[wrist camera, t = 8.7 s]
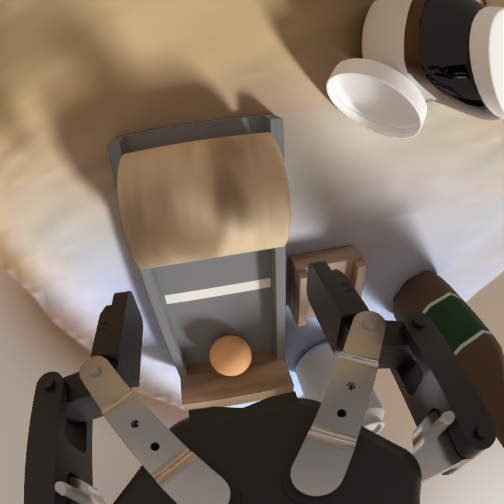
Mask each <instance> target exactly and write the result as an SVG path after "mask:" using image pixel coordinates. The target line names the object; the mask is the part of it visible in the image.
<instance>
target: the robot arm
mask: <svg viewBox="0 0 504 504" xmlns="http://www.w3.org/2000/svg"><path fill="white" fill-rule="evenodd" d="M485 2H486V6H487V7H504V0H485ZM306 291H307V297H308V301H309V303H310V305H311V307H312V309H313V311H314V313H315V315H316V318H317V320H318V322H319V324H320V326H321V328H322V330H323V332H324V334H325V336H326V338H327V341H328V343H329V345H330V347H331V349H332V351H333V353H334V354H336V353H340V352H342V354H340V357H339V359H338V362H337V365H336V367H335V370H334V373H333V375H332V378H331V381H330V383H329V386H328V388H327V391H326V393H325V396H324V398H323V401H322V403H321V402H319V401H316V400H312V399H306V398H297V396H296V393H295V391H294V392H289V393H285V394H280V395H276V396H271V397H268V398H266V399H263V400H261V401H259V402H257V403H254V404H252V405H250V406H247V407H244V408H231V407H216V406H214V407H207V408H199V409H191V410H189V417H188V418H185V419H183V420H181V421H179V422H178V423H176V424H175V425H173V426H172V427H171V428H170V429H168V428H167V427H166V426H165V425H164V424H163V423H162V422H161V421H160V420H159V419H158V418H157V417H156V416H155V415H154V413H153V412H152V411H151V410H150V409H149V408H148V407H147V406H146V405H145V403H144V402H143V401H142V400H141V399H140V398H139V397H138V395H137V394H136V393H135V392H134V391H133V390H131V387H139V380H140V362H141V348H142V335H143V321H142V317H141V314H140V312H139V309H138V307H137V304H136V302H135V299H134V296H133V294H132V292H131V291H127V292H120V293H115V294H114V297H113V301H112V305H108V306H106V307H105V308H104V310H103V311H102V312H101V314H100V317H99V321H98V325H97V332H96V334H95V339H94V343H93V348H92V353H91V358H89V359H87V360H86V361H85V362H84V363H83V364H82V365H81V367H80V370H79V372H77V373H75V374H72V375H69V376H67V377H64V378H63V377H62V376H61V375H60V374H59V373H57V372H48V373H46V374H44V375H43V376H42V377H41V378H40V379H39V381H38V382H37V385H36V390H35V395H34V401H33V407H32V413H31V419H30V426H29V434H28V443H27V452H26V464H25V483H24V504H105V502H104V498H103V495H102V494H101V492H100V491H99V490H98V489H97V488H95V487H93V481H92V480H93V479H92V423H93V422H92V421H93V419H96V418H98V417H101V416H104V417H105V418H106V419H107V421H108V422H109V424H110V425H111V427H112V428H113V429H114V431H115V432H116V433H117V434H118V436H119V437H120V438H121V440H122V441H123V442H124V444H125V445H126V446H127V447H128V448H129V450H130V451H131V452H132V453H133V455H134V456H135V457H136V458H137V459H138V461H139V462H140V463H141V464H142V466H141V467H140V469H139V470H138V471H137V473H136V474H135V475H134V477H133V478H132V479H131V481H130V482H129V483H128V485H127V486H126V488H125V489H124V490H123V491H122V493H121V494H120V495H119V497H118V498H117V499H116V501H115V502H114V503H113V504H420V489H421V483H423V482H426V481H428V480H430V479H432V478H434V477H436V476H438V475H440V474H442V475H449V474H452V473H454V472H455V471H457V470H458V469H460V468H461V467H463V466H464V465H466V464H467V463H468V462H470V461H471V460H473V459H474V458H476V457H477V456H478V455H480V454H481V453H482V452H484V451H485V450H486V449H488V448H489V447H490V446H491V445H492V444H493V443H494V441H495V439H496V434H497V431H496V426H495V424H494V422H493V420H492V418H491V416H490V414H489V412H488V410H487V409H486V407H485V405H484V403H483V401H482V399H481V398H480V396H479V394H478V392H477V391H476V389H475V387H474V385H473V384H472V382H471V380H470V378H469V377H468V375H467V373H466V372H465V370H464V368H463V367H462V365H461V364H460V362H459V360H458V359H457V357H456V355H455V354H454V352H453V351H452V349H451V348H450V346H449V344H448V343H447V341H446V340H445V338H444V337H443V335H442V334H441V332H440V331H439V329H438V328H437V326H436V325H435V323H434V322H433V320H432V319H431V318H430V317H429V316H428V315H427V314H425V313H422V312H418V311H413V312H410V313H408V314H407V315H406V316H405V318H404V320H403V321H386V320H384V318H383V317H382V316H381V315H379V314H378V313H375V312H372V311H369V309H368V308H367V306H366V305H365V303H364V301H363V300H362V298H361V297H360V295H359V294H358V292H357V291H356V290H355V288H354V286H353V285H352V284H351V282H350V281H349V279H348V278H347V276H346V275H345V274H344V273H342V272H341V271H339V270H338V269H334V270H331V268H330V267H329V265H328V264H327V262H326V261H325V260H322V261H317V262H311V263H309V264H308V269H307V287H306ZM378 368H390V370H391V372H392V374H393V376H394V378H395V380H396V382H397V384H398V386H399V389H400V391H401V392H402V395H403V397H404V399H405V401H406V404H407V406H408V408H409V410H410V412H411V415H412V417H413V419H414V421H415V424H416V426H417V428H416V429H415V431H414V433H413V436H412V442H413V448H414V450H413V455H412V454H411V453H410V452H409V451H407V450H406V449H404V448H402V447H400V446H398V445H396V444H394V443H392V442H390V441H389V440H387V439H385V438H383V437H381V436H379V435H378V434H376V433H374V432H372V431H370V430H369V429H367V428H365V427H363V426H362V423H363V420H364V416H365V413H366V410H367V407H368V403H369V400H370V396H371V393H372V389H373V385H374V382H375V377H376V374H377V370H378Z"/></svg>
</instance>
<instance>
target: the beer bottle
mask: <svg viewBox="0 0 504 504" xmlns="http://www.w3.org/2000/svg"><path fill="white" fill-rule="evenodd" d="M413 311H418V312H422V313H425V314H427V315H428V316H429V317H430V318H431V319H432V320H433V322H434V323H435V325H436V326H437V328H438V329H439V331H440V332H441V334H442V335H443V337H444V338H445V340H446V341H447V343H448V344H449V346H450V348H451V349H452V351H453V352H454V354H455V355H456V357H457V359H458V360H459V362H460V364H461V365H462V367H463V368H464V370H465V372H466V373H467V375H468V377H469V378H470V380H471V382H472V384H473V385H474V387H475V389H476V391H477V392H478V394H479V396H480V398H481V399H482V401H483V403H484V405H485V407H486V409H487V410H488V412H489V414H490V416H491V418H492V420H493V422H494V424H495V426H496V431H497V434H496V437H497V438H498V440H499V441H500V443H501V444H502V446H503V447H504V355H503V352H502V348H501V346H500V345H499V343H498V342H497V340H496V339H495V337H494V336H493V334H492V333H491V332H490V331H489V329H488V328H487V327H486V326H485V325H484V323H483V322H482V321H481V320H480V319H479V318H478V316H477V315H476V314H475V313H474V312H473V311H472V310H471V308H470V307H469V306H468V305H467V304H466V303H465V302H464V301H463V299H462V298H461V297H460V296H459V295H458V294H457V293H456V292H455V291H454V290H453V289H452V287H451V286H450V285H449V284H448V283H447V282H445V281H444V280H443V279H442V278H441V277H440V276H438V275H436V274H433V273H431V272H429V271H424V272H422V273H420V274H419V275H417V276H415V277H413V278H411V279H409V280H407V282H406V283H405V284H404V286H403V287H402V289H401V290H400V291H399V293H398V294H397V295H396V297H395V298H394V317H395V318H396V320H397V321H403V320H404V318H405V316H406V315H407V314H408V313H410V312H413Z"/></svg>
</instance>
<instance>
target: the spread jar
mask: <svg viewBox="0 0 504 504" xmlns="http://www.w3.org/2000/svg"><path fill="white" fill-rule="evenodd" d="M361 50H362V58H363V59H361V58H353V59H347V60H344V61H341V62H340V63H339V64H337V65H336V67H335V68H334V70H333V72H332V74H331V75H330V77H329V79H328V81H327V83H326V90H327V94H328V96H329V98H330V100H331V101H332V102H333V104H334V105H335V106H336V107H337V108H338V109H339V110H340V111H341V112H342V113H343V114H344V115H346V116H347V117H348V118H350V119H351V120H353V121H354V122H356V123H357V124H359V125H361V126H363V127H365V128H366V129H369V130H371V131H373V132H375V133H378V134H381V135H384V136H388V137H392V138H399V139H406V138H411V137H414V136H416V135H417V134H418V133H419V132H420V130H421V127H422V125H423V122H424V119H425V116H426V114H427V105H426V102H428V103H432V104H435V105H439V106H442V107H446V108H449V109H452V110H456V111H459V112H462V113H465V114H468V115H471V116H474V117H477V118H480V119H485V120H499V119H501V118H502V119H504V7H487V6H485V5H483V4H482V3H480V2H478V1H476V0H375V1H374V2H373V4H372V5H371V7H370V9H369V11H368V13H367V16H366V19H365V21H364V25H363V30H362V38H361Z"/></svg>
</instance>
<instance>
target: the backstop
mask: <svg viewBox="0 0 504 504" xmlns="http://www.w3.org/2000/svg"><path fill="white" fill-rule="evenodd" d="M187 371H188V376H187V377H180V378H181V393H182V405H183V407H184V409H185V411H186V412H189V410H191V409H199V408H207V407H214V406H216V407H225V406H231V405H237V404H243V403H248V402H253V401H258V400H263V399H266V398H268V397H271V396H276V395H280V394H285V393H289V392H293V387H294V384H293V382H292V379H291V376H290V373H289V370H288V367H287V364H286V361H285V359H283V360H278V361H277V358H276V355H275V352H274V349H273V350H268V351H263V352H258V353H253V354H252V358H251V363H250V365H249V367H248V368H247V369H246V370H245V371H244V372H243V373H241V374H239V375H236V376H226V375H223V374H221V373H219V372H217V371H216V370H215V369H214V367H213V366H212V364H211V362H210V361H207V362H201V363H194V364H187Z"/></svg>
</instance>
